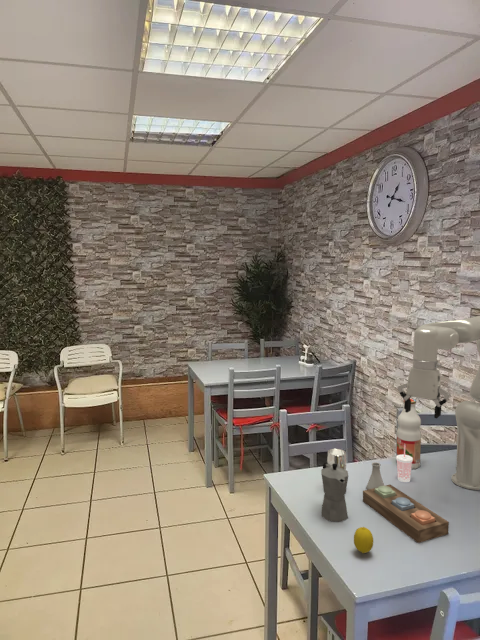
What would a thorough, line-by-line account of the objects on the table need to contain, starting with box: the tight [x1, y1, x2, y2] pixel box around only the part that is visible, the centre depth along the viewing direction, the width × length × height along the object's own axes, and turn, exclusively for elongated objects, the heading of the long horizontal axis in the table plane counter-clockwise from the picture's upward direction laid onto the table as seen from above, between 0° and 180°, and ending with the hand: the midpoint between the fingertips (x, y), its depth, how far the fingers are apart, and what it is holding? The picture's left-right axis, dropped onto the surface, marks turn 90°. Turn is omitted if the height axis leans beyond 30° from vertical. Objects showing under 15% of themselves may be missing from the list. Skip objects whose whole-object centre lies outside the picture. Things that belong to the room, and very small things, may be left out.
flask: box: [365, 461, 385, 490], centre depth 171 cm, size 7×7×10 cm
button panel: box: [362, 484, 450, 544], centre depth 152 cm, size 12×27×4 cm, turn 22°
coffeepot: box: [320, 461, 349, 523], centre depth 154 cm, size 15×9×18 cm, turn 13°
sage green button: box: [375, 486, 396, 498], centre depth 160 cm, size 5×5×3 cm
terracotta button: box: [411, 510, 435, 526], centre depth 143 cm, size 5×5×3 cm
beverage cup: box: [396, 445, 413, 483], centre depth 178 cm, size 6×6×14 cm
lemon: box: [353, 526, 374, 554], centre depth 133 cm, size 6×6×8 cm
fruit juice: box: [396, 398, 422, 470], centre depth 190 cm, size 9×9×28 cm
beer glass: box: [326, 448, 347, 470], centre depth 170 cm, size 7×7×15 cm
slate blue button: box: [392, 497, 414, 511], centre depth 152 cm, size 5×5×3 cm
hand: (422, 414), depth 155 cm, fingers open, 9 cm apart
